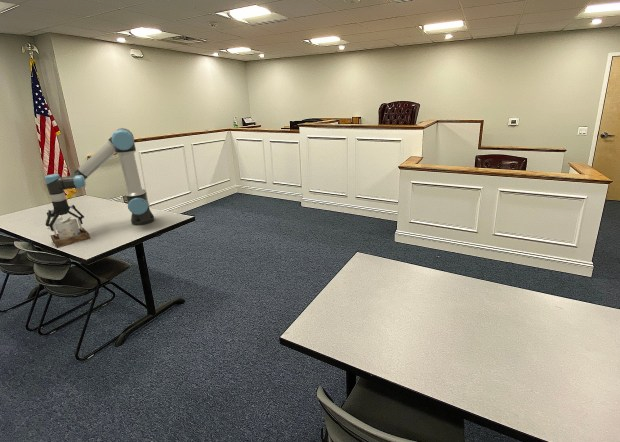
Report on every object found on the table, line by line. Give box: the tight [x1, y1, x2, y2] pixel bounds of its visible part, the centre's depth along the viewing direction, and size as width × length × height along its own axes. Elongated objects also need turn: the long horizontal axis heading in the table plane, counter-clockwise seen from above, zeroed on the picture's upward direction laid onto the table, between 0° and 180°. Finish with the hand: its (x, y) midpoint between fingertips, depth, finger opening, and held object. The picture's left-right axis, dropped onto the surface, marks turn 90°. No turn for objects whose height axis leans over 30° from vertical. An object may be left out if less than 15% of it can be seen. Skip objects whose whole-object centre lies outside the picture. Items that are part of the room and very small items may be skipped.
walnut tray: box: [50, 227, 91, 249], centre depth 220 cm, size 18×15×4 cm
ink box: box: [55, 216, 81, 240], centre depth 218 cm, size 9×8×13 cm
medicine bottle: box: [44, 211, 64, 230], centre depth 243 cm, size 7×7×12 cm
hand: (69, 232), depth 219 cm, fingers open, 13 cm apart
